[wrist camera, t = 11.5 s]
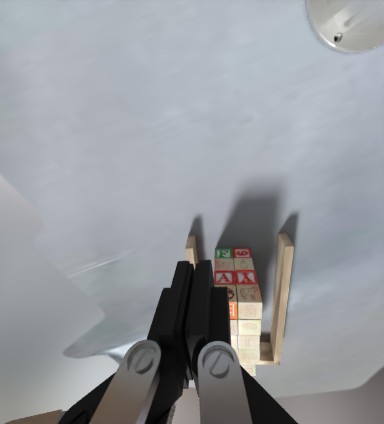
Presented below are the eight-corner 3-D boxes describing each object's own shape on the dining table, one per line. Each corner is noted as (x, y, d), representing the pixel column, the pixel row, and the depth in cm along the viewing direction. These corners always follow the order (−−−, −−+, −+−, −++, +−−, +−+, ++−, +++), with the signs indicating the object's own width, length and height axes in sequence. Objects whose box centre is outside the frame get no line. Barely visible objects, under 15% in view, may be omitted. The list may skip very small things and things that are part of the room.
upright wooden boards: (286, 232, 35) (293, 246, 31) (274, 346, 47) (279, 365, 44) (188, 235, 37) (185, 248, 34) (201, 342, 49) (200, 360, 46)
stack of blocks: (248, 329, 46) (258, 397, 35) (219, 328, 47) (220, 394, 36) (250, 246, 37) (263, 303, 26) (214, 247, 38) (212, 302, 27)
